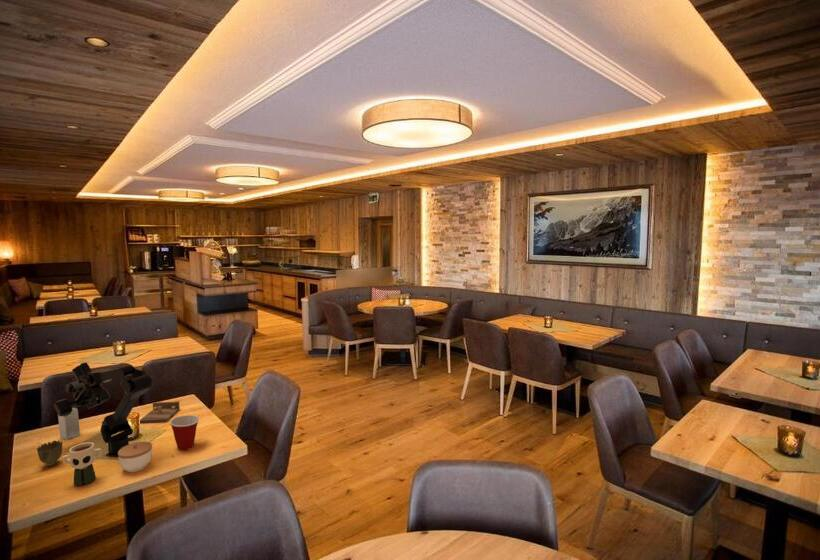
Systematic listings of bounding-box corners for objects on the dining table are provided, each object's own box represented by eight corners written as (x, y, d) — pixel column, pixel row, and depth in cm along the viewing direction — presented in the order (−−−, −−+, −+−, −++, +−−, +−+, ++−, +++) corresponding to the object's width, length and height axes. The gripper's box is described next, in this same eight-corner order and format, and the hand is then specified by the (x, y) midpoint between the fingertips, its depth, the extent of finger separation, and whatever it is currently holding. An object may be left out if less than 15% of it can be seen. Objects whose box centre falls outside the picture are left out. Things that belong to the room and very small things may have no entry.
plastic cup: (198, 451, 169) (196, 423, 168) (168, 455, 166) (166, 426, 165) (203, 439, 180) (201, 412, 179) (175, 442, 177) (173, 415, 175)
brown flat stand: (166, 422, 196) (165, 412, 196) (139, 423, 195) (138, 413, 195) (179, 410, 210) (179, 400, 210) (154, 411, 209) (153, 401, 208)
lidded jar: (129, 461, 162) (127, 438, 161) (158, 459, 163) (157, 436, 163) (112, 477, 152) (110, 452, 151) (144, 475, 153) (142, 450, 152)
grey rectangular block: (80, 435, 184) (77, 408, 183) (66, 440, 179) (64, 413, 178) (73, 433, 186) (71, 407, 185) (60, 437, 181) (57, 411, 180)
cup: (34, 467, 158) (32, 447, 157) (56, 458, 165) (55, 438, 164) (46, 471, 155) (44, 451, 154) (68, 462, 162) (66, 442, 161)
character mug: (63, 491, 143) (59, 455, 142) (67, 481, 149) (64, 446, 148) (102, 482, 148) (99, 447, 147) (105, 472, 155) (102, 439, 153)
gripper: (103, 369, 184) (90, 389, 189) (53, 382, 167) (40, 405, 172) (116, 389, 181) (102, 409, 187) (66, 405, 164) (53, 426, 170)
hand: (75, 412), depth 179 cm, fingers open, 9 cm apart
